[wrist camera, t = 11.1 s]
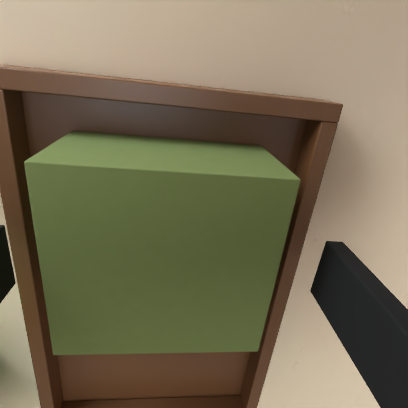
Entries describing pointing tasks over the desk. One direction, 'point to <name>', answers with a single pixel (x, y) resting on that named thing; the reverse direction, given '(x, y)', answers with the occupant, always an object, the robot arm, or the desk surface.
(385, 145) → the desk surface
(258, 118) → the brown wooden tray
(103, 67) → the desk surface
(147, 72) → the desk surface
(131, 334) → the olive green block
